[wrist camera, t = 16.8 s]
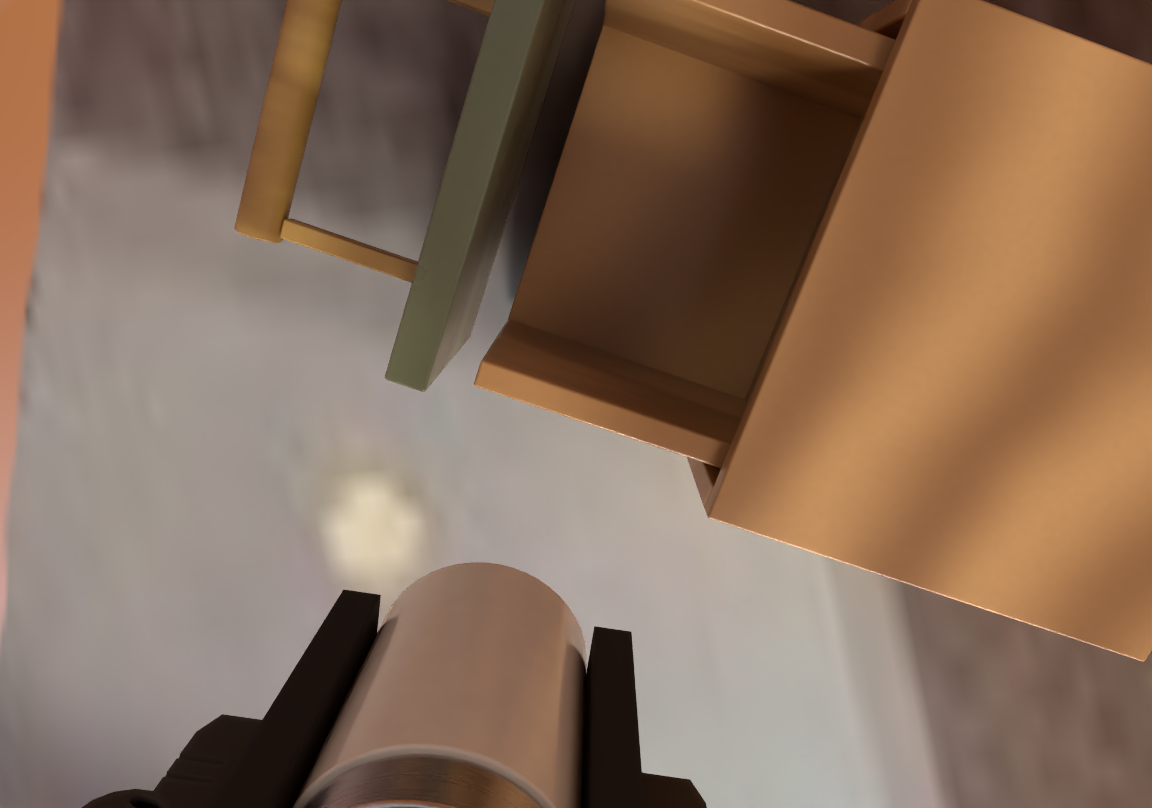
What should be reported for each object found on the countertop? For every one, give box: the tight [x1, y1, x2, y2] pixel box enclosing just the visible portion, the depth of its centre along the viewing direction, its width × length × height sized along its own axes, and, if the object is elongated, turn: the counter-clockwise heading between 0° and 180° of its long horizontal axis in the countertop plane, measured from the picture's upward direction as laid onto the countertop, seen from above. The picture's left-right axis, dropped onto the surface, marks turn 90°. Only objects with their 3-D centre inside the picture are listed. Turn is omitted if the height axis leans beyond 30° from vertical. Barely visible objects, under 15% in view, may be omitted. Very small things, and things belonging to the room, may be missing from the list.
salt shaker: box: [292, 563, 587, 808], centre depth 14 cm, size 4×4×7 cm
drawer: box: [235, 0, 896, 468], centre depth 26 cm, size 18×13×9 cm
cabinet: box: [687, 0, 1152, 661], centre depth 27 cm, size 13×14×10 cm
